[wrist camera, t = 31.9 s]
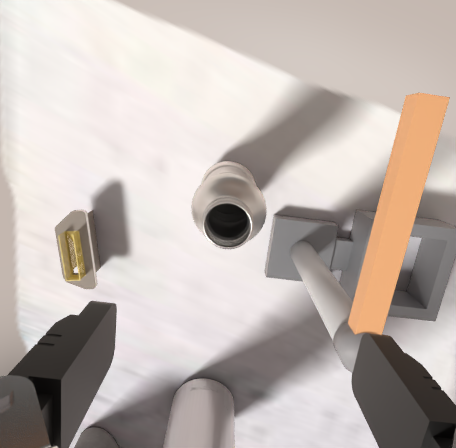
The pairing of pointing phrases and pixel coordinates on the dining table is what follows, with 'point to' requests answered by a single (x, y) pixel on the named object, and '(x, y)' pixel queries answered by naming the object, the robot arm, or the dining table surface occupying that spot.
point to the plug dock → (358, 264)
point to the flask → (95, 439)
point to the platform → (78, 248)
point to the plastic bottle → (228, 205)
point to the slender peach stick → (392, 221)
